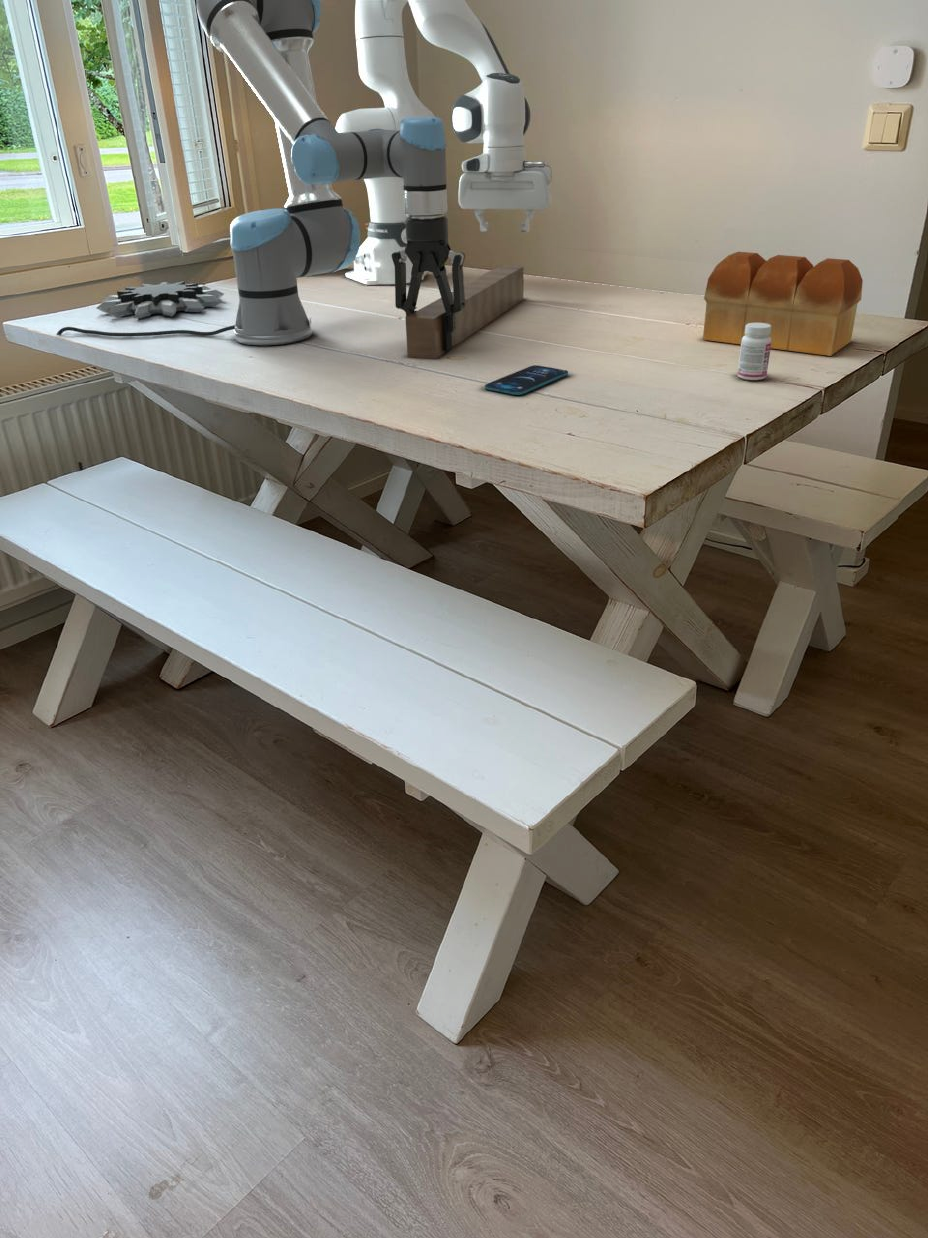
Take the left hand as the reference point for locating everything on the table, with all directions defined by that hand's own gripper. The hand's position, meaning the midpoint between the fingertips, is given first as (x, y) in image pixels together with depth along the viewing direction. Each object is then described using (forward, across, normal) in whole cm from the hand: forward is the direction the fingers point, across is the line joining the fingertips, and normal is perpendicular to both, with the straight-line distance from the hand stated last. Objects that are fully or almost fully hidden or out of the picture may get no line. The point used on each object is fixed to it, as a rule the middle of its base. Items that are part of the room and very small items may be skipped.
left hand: (432, 347), depth 178 cm
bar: (+1, 0, -22) cm, 22 cm away
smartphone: (+1, -24, +16) cm, 28 cm away
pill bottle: (+1, -59, +3) cm, 59 cm away
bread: (+1, -61, -23) cm, 65 cm away
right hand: (-15, 0, -44) cm, 46 cm away
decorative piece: (+1, +77, -22) cm, 80 cm away
